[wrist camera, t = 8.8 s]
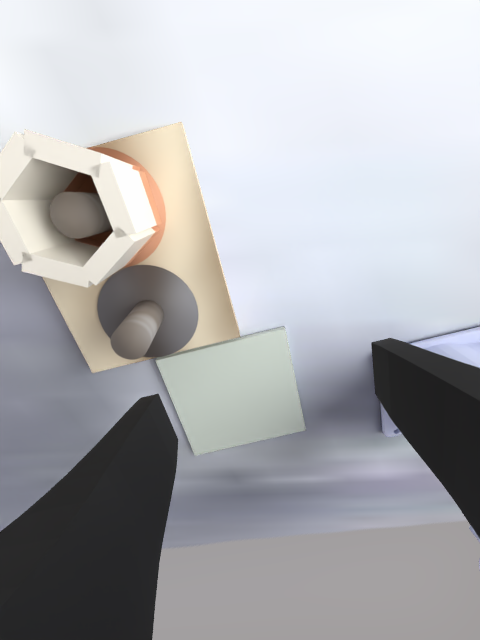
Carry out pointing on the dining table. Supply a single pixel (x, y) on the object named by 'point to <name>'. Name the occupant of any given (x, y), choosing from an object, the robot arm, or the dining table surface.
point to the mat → (234, 391)
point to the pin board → (147, 263)
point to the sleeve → (67, 176)
